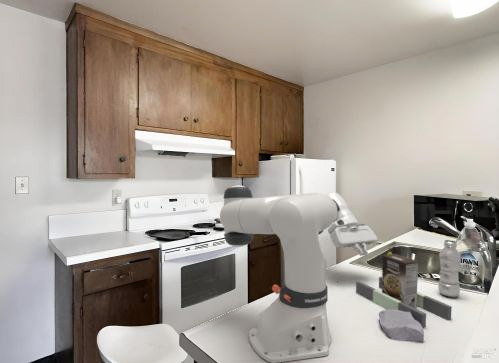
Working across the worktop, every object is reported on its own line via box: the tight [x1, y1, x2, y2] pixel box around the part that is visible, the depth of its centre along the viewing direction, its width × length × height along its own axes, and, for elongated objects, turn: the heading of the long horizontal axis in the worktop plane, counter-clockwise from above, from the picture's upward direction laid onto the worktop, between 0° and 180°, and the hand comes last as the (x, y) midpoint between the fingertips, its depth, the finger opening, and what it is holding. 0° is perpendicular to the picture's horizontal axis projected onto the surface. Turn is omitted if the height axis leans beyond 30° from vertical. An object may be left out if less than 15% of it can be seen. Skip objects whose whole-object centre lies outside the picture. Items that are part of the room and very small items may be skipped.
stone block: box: [378, 309, 425, 343], centre depth 81 cm, size 12×5×10 cm
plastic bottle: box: [437, 239, 462, 298], centre depth 103 cm, size 6×7×20 cm
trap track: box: [355, 276, 453, 329], centre depth 96 cm, size 13×26×4 cm, turn 23°
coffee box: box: [381, 253, 419, 309], centre depth 96 cm, size 9×6×16 cm
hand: (364, 254), depth 110 cm, fingers closed
